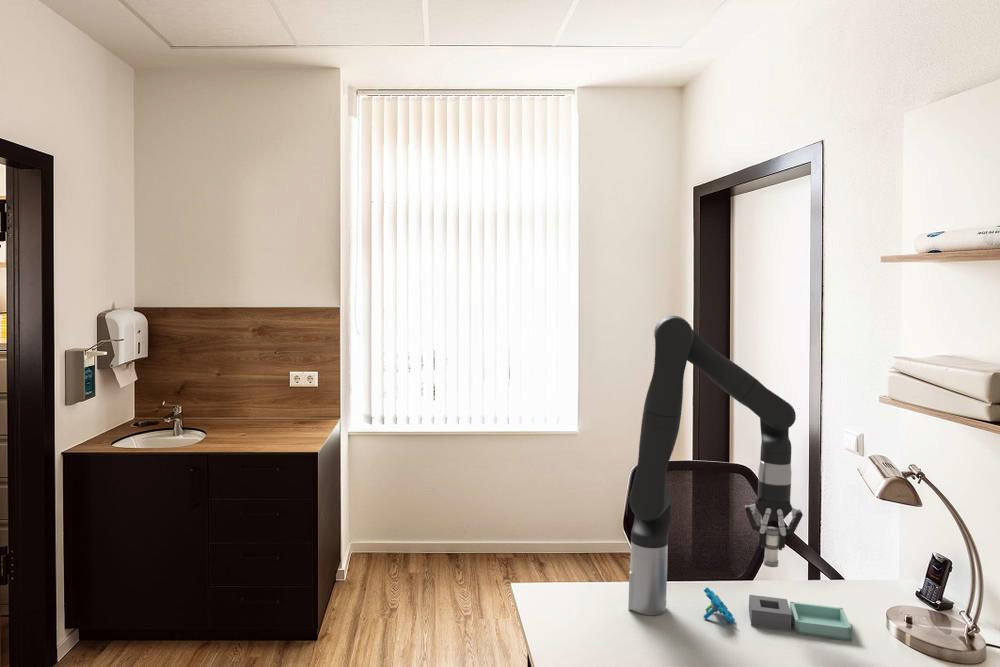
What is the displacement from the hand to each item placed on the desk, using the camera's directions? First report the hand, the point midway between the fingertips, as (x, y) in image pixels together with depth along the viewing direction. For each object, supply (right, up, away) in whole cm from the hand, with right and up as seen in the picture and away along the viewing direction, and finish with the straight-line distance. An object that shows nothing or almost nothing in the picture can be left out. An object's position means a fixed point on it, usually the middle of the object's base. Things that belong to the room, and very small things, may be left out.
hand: (771, 547), depth 176 cm
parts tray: (+11, -19, -2) cm, 22 cm away
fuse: (0, -4, 0) cm, 4 cm away
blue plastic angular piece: (-13, -18, +2) cm, 22 cm away
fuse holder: (0, -18, +1) cm, 18 cm away
